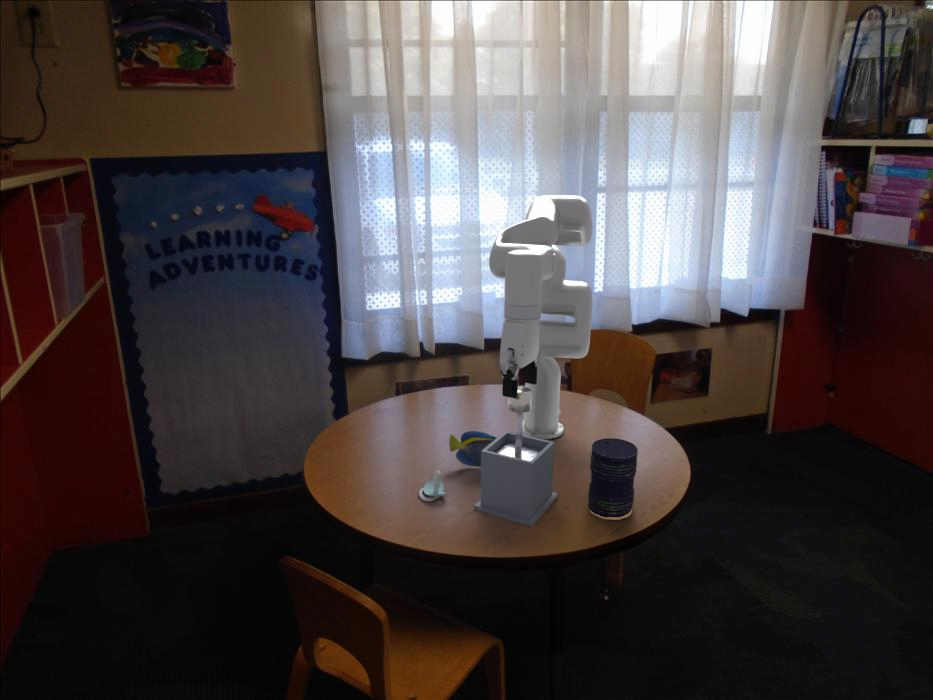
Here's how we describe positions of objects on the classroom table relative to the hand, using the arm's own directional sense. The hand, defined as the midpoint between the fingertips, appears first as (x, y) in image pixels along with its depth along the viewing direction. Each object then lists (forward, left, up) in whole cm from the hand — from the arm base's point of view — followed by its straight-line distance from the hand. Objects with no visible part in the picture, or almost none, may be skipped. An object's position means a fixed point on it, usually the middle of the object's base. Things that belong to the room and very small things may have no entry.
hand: (519, 389), depth 145 cm
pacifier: (+6, -19, -28) cm, 34 cm away
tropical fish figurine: (-11, -15, -28) cm, 33 cm away
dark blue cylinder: (-8, +19, -28) cm, 35 cm away
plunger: (0, 0, -16) cm, 16 cm away
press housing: (0, 0, -27) cm, 27 cm away
